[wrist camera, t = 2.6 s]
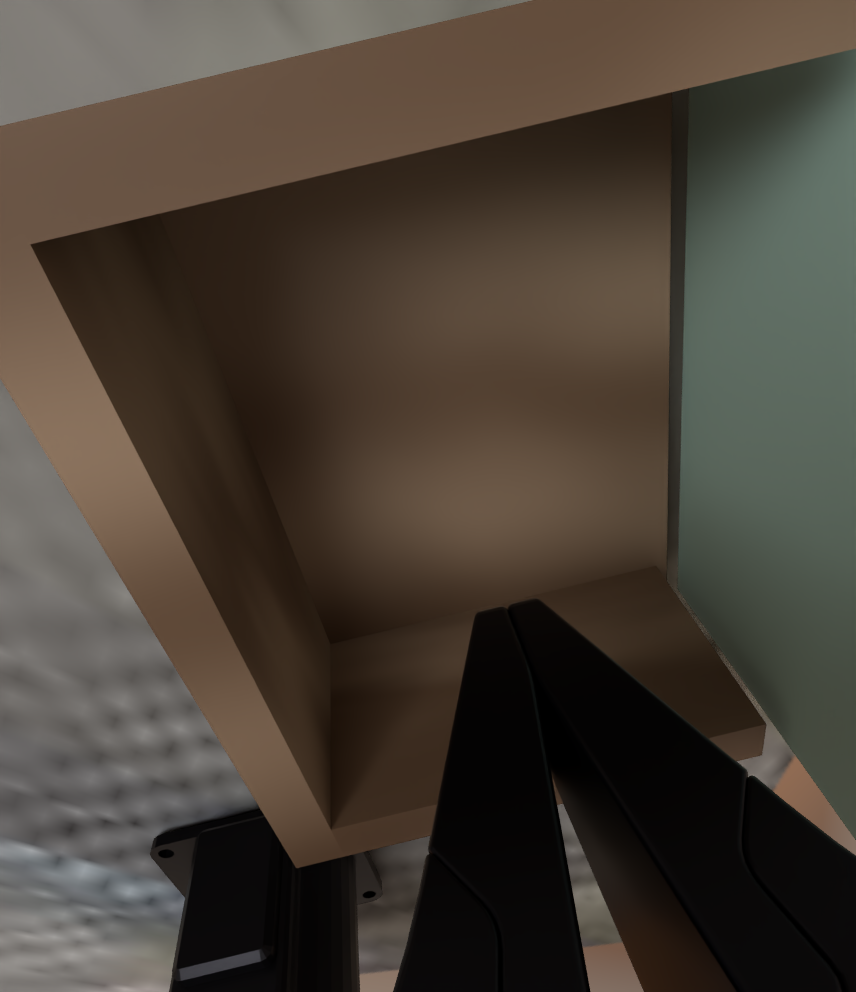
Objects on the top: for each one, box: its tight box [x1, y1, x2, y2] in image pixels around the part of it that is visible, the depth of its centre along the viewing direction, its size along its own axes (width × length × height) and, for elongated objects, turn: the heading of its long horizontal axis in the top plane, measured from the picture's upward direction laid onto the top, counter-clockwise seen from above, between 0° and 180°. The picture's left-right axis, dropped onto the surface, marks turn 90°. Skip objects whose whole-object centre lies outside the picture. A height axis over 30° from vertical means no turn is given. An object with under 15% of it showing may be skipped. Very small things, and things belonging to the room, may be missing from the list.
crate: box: [0, 0, 856, 868], centre depth 12 cm, size 13×10×6 cm
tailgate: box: [678, 49, 856, 840], centre depth 11 cm, size 13×1×7 cm, turn 11°
